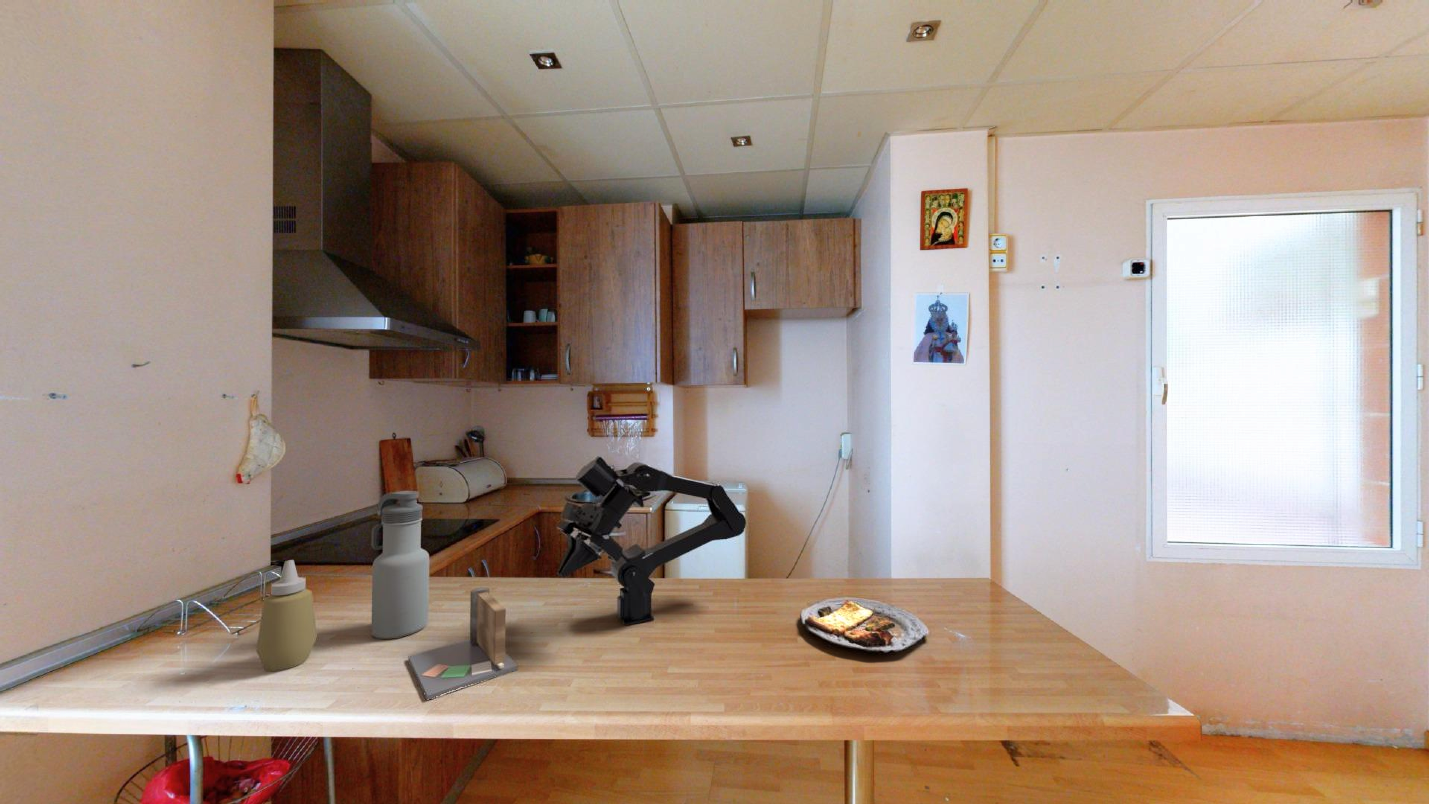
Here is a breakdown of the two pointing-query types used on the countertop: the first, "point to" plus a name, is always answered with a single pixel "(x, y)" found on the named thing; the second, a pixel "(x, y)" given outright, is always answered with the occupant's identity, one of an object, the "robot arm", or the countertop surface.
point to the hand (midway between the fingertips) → (560, 575)
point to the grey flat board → (455, 667)
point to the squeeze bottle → (287, 622)
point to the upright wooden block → (488, 625)
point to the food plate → (846, 614)
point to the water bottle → (399, 568)
